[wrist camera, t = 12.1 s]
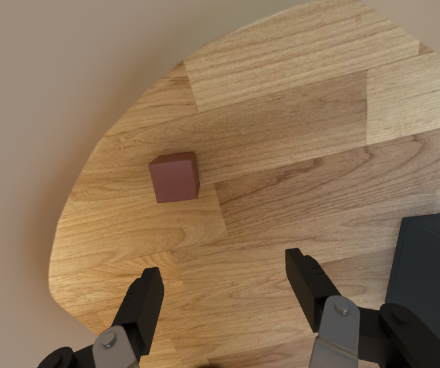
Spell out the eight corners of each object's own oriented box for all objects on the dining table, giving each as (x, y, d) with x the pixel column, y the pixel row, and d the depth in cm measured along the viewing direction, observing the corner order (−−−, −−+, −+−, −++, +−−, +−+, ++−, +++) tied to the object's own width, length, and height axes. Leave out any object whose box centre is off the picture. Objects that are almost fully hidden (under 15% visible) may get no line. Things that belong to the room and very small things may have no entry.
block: (158, 155, 26) (148, 164, 22) (194, 151, 26) (191, 159, 22) (166, 189, 27) (157, 203, 23) (199, 185, 27) (197, 198, 23)
